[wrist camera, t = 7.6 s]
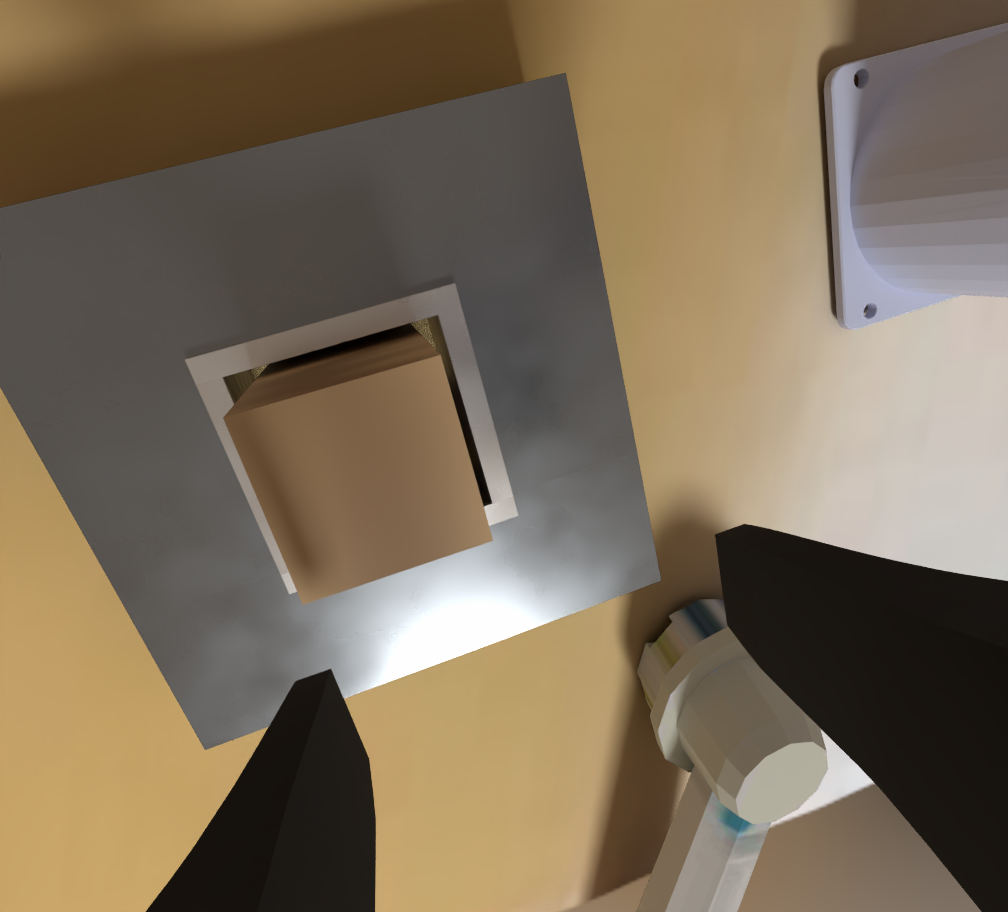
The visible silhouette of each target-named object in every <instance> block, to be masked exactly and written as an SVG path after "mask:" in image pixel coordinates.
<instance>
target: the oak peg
mask: <svg viewBox="0 0 1008 912" xmlns="http://www.w3.org/2000/svg"><path fill="white" fill-rule="evenodd" d="M223 419H224V421H225V424H226V426H227V429H228V431H229V433H230V436H231V438H232V440H233V443H234V445H235V447H236V450H237V452H238V454H239V457H240V459H241V461H242V464H243V466H244V468H245V471H246V473H247V475H248V478H249V480H250V482H251V485H252V487H253V489H254V492H255V494H256V496H257V499H258V501H259V503H260V506H261V508H262V511H263V513H264V515H265V518H266V520H267V522H268V525H269V527H270V529H271V532H272V534H273V536H274V539H275V541H276V543H277V546H278V548H279V550H280V553H281V555H282V557H283V560H284V562H285V564H286V567H287V569H288V571H289V574H290V576H291V578H292V581H293V583H294V585H295V588H296V590H297V592H298V595H299V597H300V600H301V602H302V604H303V605H304V604H307V603H310V602H313V601H316V600H319V599H322V598H325V597H328V596H331V595H334V594H337V593H340V592H343V591H346V590H349V589H352V588H355V587H357V586H360V585H363V584H366V583H369V582H372V581H375V580H378V579H381V578H384V577H387V576H390V575H393V574H396V573H399V572H402V571H405V570H408V569H411V568H414V567H417V566H420V565H423V564H426V563H429V562H432V561H435V560H437V559H440V558H443V557H446V556H449V555H452V554H455V553H458V552H461V551H464V550H467V549H470V548H473V547H476V546H479V545H482V544H485V543H488V542H491V541H493V538H492V534H491V531H490V527H489V524H488V520H487V517H486V513H485V510H484V506H483V503H482V499H481V496H480V492H479V489H478V485H477V481H476V478H475V474H474V471H473V467H472V464H471V460H470V457H469V453H468V450H467V446H466V443H465V439H464V436H463V432H462V429H461V425H460V422H459V418H458V414H457V411H456V407H455V404H454V400H453V397H452V393H451V390H450V386H449V383H448V379H447V376H446V372H445V369H444V365H443V362H442V358H441V355H440V354H439V353H438V352H437V351H436V350H435V349H434V348H433V347H432V346H431V345H430V343H429V342H428V341H427V340H426V339H425V338H424V337H423V336H422V335H421V334H420V333H419V332H418V331H417V330H416V329H415V328H414V327H413V326H412V325H411V324H410V323H408V324H405V325H401V326H398V327H395V328H391V329H388V330H384V331H381V332H377V333H374V334H370V335H367V336H363V337H360V338H356V339H353V340H350V341H346V342H343V343H339V344H336V345H332V346H329V347H325V348H322V349H318V350H315V351H312V352H308V353H305V354H301V355H298V356H294V357H291V358H287V359H284V360H280V361H277V362H273V363H270V364H269V365H268V366H267V367H266V368H265V369H264V370H263V372H262V373H261V374H260V375H259V376H258V377H257V379H256V380H255V381H254V382H253V383H252V384H251V386H250V387H249V388H248V389H247V390H246V391H245V393H244V394H243V395H242V396H241V397H240V398H239V400H238V401H237V402H236V403H235V404H234V405H233V407H232V408H231V409H230V410H229V411H228V412H227V414H226V415H225V416H224V417H223Z"/></svg>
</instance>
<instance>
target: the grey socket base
mask: <svg viewBox="0 0 1008 912" xmlns="http://www.w3.org/2000/svg"><path fill="white" fill-rule="evenodd" d="M426 318H427V319H428V322H429V325H430V329H431V332H432V336H433V339H434V342H435V346H436V349H437V352H438V353H439V354H440V355H441V358H442V362H443V365H444V369H445V372H446V376H447V379H448V383H449V386H450V390H451V393H452V397H453V400H454V404H455V407H456V411H457V414H458V418H459V422H460V425H461V429H462V432H463V436H464V439H465V443H466V446H467V450H468V453H469V457H470V460H471V464H472V467H473V471H474V474H475V478H476V481H477V485H478V489H479V492H480V496H481V499H482V503H483V506H484V510H485V513H486V517H487V520H488V524H489V527H490V531H491V534H492V538H493V541H491V542H488V543H485V544H482V545H479V546H476V547H473V548H470V549H467V550H464V551H461V552H458V553H455V554H452V555H449V556H446V557H443V558H440V559H437V560H435V561H432V562H429V563H426V564H423V565H420V566H417V567H414V568H411V569H408V570H405V571H402V572H399V573H396V574H393V575H390V576H387V577H384V578H381V579H378V580H375V581H372V582H369V583H366V584H363V585H360V586H357V587H355V588H352V589H349V590H346V591H343V592H340V593H337V594H334V595H331V596H328V597H325V598H322V599H319V600H316V601H313V602H310V603H307V604H304V605H303V604H302V602H301V600H300V597H299V595H298V592H297V590H296V588H295V585H294V583H293V581H292V578H291V576H290V574H289V571H288V569H287V567H286V564H285V562H284V560H283V557H282V555H281V553H280V550H279V548H278V546H277V543H276V541H275V539H274V536H273V534H272V532H271V529H270V527H269V525H268V522H267V520H266V518H265V515H264V513H263V511H262V508H261V506H260V503H259V501H258V499H257V496H256V494H255V492H254V489H253V487H252V485H251V482H250V480H249V478H248V475H247V473H246V471H245V468H244V466H243V464H242V461H241V459H240V457H239V454H238V452H237V450H236V447H235V445H234V443H233V440H232V438H231V436H230V433H229V431H228V429H227V426H226V424H225V421H224V419H223V417H224V416H225V415H226V414H227V412H228V411H229V410H230V409H231V408H232V407H233V405H234V404H235V403H236V402H237V401H238V400H239V398H240V397H241V396H242V395H243V394H244V393H245V391H246V390H247V389H248V388H249V387H250V386H251V384H252V383H253V382H254V381H255V380H254V378H253V375H252V373H251V371H250V369H253V368H256V367H260V366H263V365H267V364H270V363H273V362H277V361H280V360H284V359H287V358H291V357H294V356H298V355H301V354H305V353H308V352H312V351H315V350H318V349H322V348H325V347H329V346H332V345H336V344H339V343H343V342H346V341H350V340H353V339H356V338H360V337H363V336H367V335H370V334H374V333H377V332H381V331H384V330H388V329H391V328H395V327H398V326H401V325H405V324H408V323H412V322H415V321H419V320H422V319H426ZM0 387H1V389H2V391H3V393H4V395H5V396H6V398H7V400H8V402H9V403H10V405H11V407H12V409H13V410H14V412H15V414H16V416H17V418H18V419H19V421H20V423H21V425H22V426H23V428H24V430H25V432H26V434H27V435H28V437H29V439H30V441H31V442H32V444H33V446H34V448H35V449H36V451H37V453H38V455H39V457H40V458H41V460H42V462H43V464H44V465H45V467H46V469H47V471H48V472H49V474H50V476H51V478H52V480H53V481H54V483H55V485H56V487H57V488H58V490H59V492H60V494H61V496H62V497H63V499H64V501H65V503H66V504H67V506H68V508H69V510H70V511H71V513H72V515H73V517H74V519H75V520H76V522H77V524H78V526H79V527H80V529H81V531H82V533H83V535H84V536H85V538H86V540H87V542H88V543H89V545H90V547H91V549H92V550H93V552H94V554H95V556H96V558H97V559H98V561H99V563H100V565H101V566H102V568H103V570H104V572H105V574H106V575H107V577H108V579H109V581H110V582H111V584H112V586H113V588H114V589H115V591H116V593H117V595H118V597H119V598H120V600H121V602H122V604H123V605H124V607H125V609H126V611H127V613H128V614H129V616H130V618H131V620H132V621H133V623H134V625H135V627H136V628H137V630H138V632H139V634H140V636H141V637H142V639H143V641H144V643H145V644H146V646H147V648H148V650H149V651H150V653H151V655H152V657H153V659H154V660H155V662H156V664H157V666H158V667H159V669H160V671H161V673H162V675H163V676H164V678H165V680H166V682H167V683H168V685H169V687H170V689H171V690H172V692H173V694H174V696H175V698H176V699H177V701H178V703H179V705H180V706H181V708H182V710H183V712H184V714H185V715H186V717H187V719H188V721H189V722H190V724H191V726H192V728H193V729H194V731H195V733H196V735H197V737H198V738H199V740H200V742H201V744H202V745H203V747H204V749H205V750H207V749H209V748H212V747H215V746H218V745H220V744H223V743H226V742H228V741H231V740H234V739H236V738H239V737H242V736H244V735H247V734H250V733H253V732H255V731H258V730H261V729H263V728H266V727H269V726H270V724H271V722H272V720H273V718H274V717H275V715H276V713H277V711H278V710H279V708H280V706H281V705H282V703H283V701H284V699H285V698H286V696H287V694H288V692H289V691H290V689H291V687H292V686H293V684H294V682H295V681H297V680H300V679H303V678H305V677H308V676H311V675H314V674H317V673H320V672H323V671H326V670H328V669H331V670H332V672H333V674H334V677H335V679H336V681H337V684H338V686H339V689H340V691H341V693H342V696H343V698H347V697H349V696H352V695H355V694H357V693H360V692H363V691H366V690H368V689H371V688H374V687H376V686H379V685H382V684H384V683H387V682H390V681H392V680H395V679H398V678H400V677H403V676H406V675H409V674H411V673H414V672H417V671H419V670H422V669H425V668H427V667H430V666H433V665H435V664H438V663H441V662H444V661H446V660H449V659H452V658H454V657H457V656H460V655H462V654H465V653H468V652H470V651H473V650H476V649H479V648H481V647H484V646H487V645H489V644H492V643H495V642H497V641H500V640H503V639H505V638H508V637H511V636H514V635H516V634H519V633H522V632H524V631H527V630H530V629H532V628H535V627H538V626H540V625H543V624H546V623H548V622H551V621H554V620H557V619H559V618H562V617H565V616H567V615H570V614H573V613H575V612H578V611H581V610H583V609H586V608H589V607H592V606H594V605H597V604H600V603H602V602H605V601H608V600H610V599H613V598H616V597H618V596H621V595H624V594H627V593H629V592H632V591H635V590H637V589H640V588H643V587H645V586H648V585H651V584H653V583H656V582H659V581H661V577H660V572H659V566H658V561H657V556H656V551H655V545H654V540H653V535H652V529H651V524H650V519H649V513H648V508H647V503H646V497H645V492H644V487H643V481H642V476H641V471H640V465H639V460H638V455H637V449H636V444H635V439H634V433H633V428H632V423H631V417H630V412H629V407H628V401H627V396H626V391H625V385H624V380H623V375H622V369H621V364H620V359H619V353H618V348H617V343H616V338H615V332H614V327H613V322H612V316H611V311H610V306H609V300H608V295H607V290H606V284H605V279H604V274H603V268H602V263H601V258H600V252H599V247H598V242H597V236H596V231H595V226H594V220H593V215H592V210H591V204H590V199H589V194H588V188H587V183H586V178H585V172H584V167H583V162H582V156H581V151H580V146H579V140H578V135H577V130H576V125H575V119H574V114H573V109H572V103H571V98H570V93H569V87H568V82H567V77H566V73H563V74H558V75H554V76H550V77H546V78H542V79H537V80H533V81H529V82H525V83H521V84H516V85H512V86H508V87H504V88H500V89H496V90H491V91H487V92H483V93H479V94H475V95H470V96H466V97H462V98H458V99H454V100H450V101H445V102H441V103H437V104H433V105H429V106H424V107H420V108H416V109H412V110H408V111H404V112H399V113H395V114H391V115H387V116H383V117H378V118H374V119H370V120H366V121H362V122H358V123H353V124H349V125H345V126H341V127H337V128H332V129H328V130H324V131H320V132H316V133H312V134H307V135H303V136H299V137H295V138H291V139H286V140H282V141H278V142H274V143H270V144H266V145H261V146H257V147H253V148H249V149H245V150H240V151H236V152H232V153H228V154H224V155H220V156H215V157H211V158H207V159H203V160H199V161H194V162H190V163H186V164H182V165H178V166H174V167H169V168H165V169H161V170H157V171H153V172H148V173H144V174H140V175H136V176H132V177H127V178H123V179H119V180H115V181H111V182H107V183H102V184H98V185H94V186H90V187H86V188H81V189H77V190H73V191H69V192H65V193H61V194H56V195H52V196H48V197H44V198H40V199H35V200H31V201H27V202H23V203H19V204H15V205H10V206H6V207H2V208H0Z"/></svg>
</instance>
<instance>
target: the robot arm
mask: <svg viewBox="0 0 1008 912" xmlns="http://www.w3.org/2000/svg"><path fill="white" fill-rule="evenodd" d="M855 74H857V75H858V79H859V83H858V87H856V86H855V84H854V75H855ZM824 100H825V118H826V135H827V152H828V170H829V187H830V205H831V222H832V239H833V257H834V274H835V292H836V309H837V320H838V324H839V325H840V326H841V327H842V328H845V329H850V330H855V329H859V328H863V327H866V326H869V325H872V324H875V323H878V322H881V321H884V320H887V319H890V318H893V317H896V316H900V315H903V314H906V313H909V312H912V311H915V310H918V309H921V308H924V307H927V306H930V305H933V304H936V303H940V302H943V301H946V300H949V299H952V298H955V297H958V296H961V295H969V296H990V297H1008V22H1007V23H1004V24H1000V25H996V26H992V27H988V28H984V29H980V30H976V31H972V32H968V33H964V34H960V35H956V36H952V37H948V38H945V39H941V40H937V41H933V42H929V43H925V44H921V45H917V46H913V47H909V48H905V49H901V50H897V51H893V52H889V53H886V54H882V55H878V56H874V57H870V58H866V59H862V60H858V61H854V62H850V63H846V64H843V65H841V66H838V67H836V68H834V69H832V70H831V71H830V73H829V74H828V75H827V77H826V80H825V83H824ZM866 305H867V307H868V310H867V313H866V315H865V316H864V308H865V307H866ZM715 537H716V545H717V553H718V560H719V568H720V575H721V583H722V591H723V598H724V606H725V614H726V621H727V626H728V627H729V628H730V630H731V631H732V632H733V634H734V635H735V636H736V638H737V639H738V640H739V642H740V643H741V644H742V646H743V647H744V648H745V650H746V651H747V652H748V653H749V655H750V656H751V657H752V658H753V660H754V661H755V662H756V663H757V665H758V666H759V667H760V668H761V669H762V670H763V671H764V672H765V674H766V675H767V676H768V677H769V678H770V679H771V680H772V681H773V682H774V683H775V684H776V685H777V686H778V687H779V688H780V689H781V690H782V691H783V692H784V693H785V694H786V695H787V696H788V697H789V698H790V699H791V700H792V701H793V702H794V703H795V704H796V705H797V706H798V707H799V708H800V709H801V710H802V711H803V712H804V713H805V714H806V715H807V716H808V717H809V718H811V719H812V720H813V721H814V722H815V723H816V724H817V725H818V726H819V727H820V728H821V729H822V730H823V731H824V732H825V733H826V734H827V735H828V736H829V737H830V738H831V739H832V740H833V741H834V742H835V743H836V744H837V745H838V746H839V747H840V748H841V749H842V750H843V751H844V752H845V753H846V754H847V755H848V756H849V757H850V758H851V759H852V760H853V761H854V762H855V763H856V764H857V765H858V766H859V767H860V768H861V769H862V770H863V771H864V772H865V773H866V774H867V775H868V776H869V777H870V779H871V780H872V781H873V782H874V783H875V784H876V785H877V786H878V787H879V788H880V789H881V790H882V791H883V793H884V794H885V795H886V796H887V797H888V798H889V800H890V801H891V802H892V803H893V804H894V806H896V808H897V809H898V810H899V811H900V813H901V814H902V815H903V816H904V817H905V819H906V820H907V821H908V822H909V823H910V824H911V826H912V827H913V828H914V829H915V830H916V832H917V833H918V834H919V835H920V836H921V837H922V839H923V840H924V841H925V842H926V843H927V845H928V846H929V847H930V848H931V849H932V851H933V852H934V853H935V854H936V856H937V857H938V858H939V859H940V861H941V862H942V863H943V864H944V866H945V867H946V868H947V869H948V871H949V872H950V873H951V874H952V875H953V877H954V878H955V879H956V880H957V882H958V883H959V884H960V885H961V886H962V888H963V889H964V890H965V892H966V893H967V894H968V895H969V897H970V898H971V899H972V900H973V901H974V903H975V904H976V905H977V906H978V908H979V909H980V910H981V911H982V912H1008V581H1004V580H997V579H991V578H984V577H977V576H971V575H964V574H959V573H953V572H947V571H942V570H937V569H932V568H927V567H922V566H918V565H913V564H908V563H903V562H899V561H894V560H890V559H885V558H881V557H877V556H873V555H868V554H864V553H860V552H856V551H852V550H848V549H844V548H841V547H837V546H833V545H829V544H825V543H821V542H818V541H814V540H810V539H806V538H802V537H799V536H795V535H791V534H787V533H783V532H779V531H775V530H771V529H767V528H763V527H758V526H753V525H747V524H743V525H741V526H738V527H735V528H732V529H729V530H726V531H723V532H721V533H718V534H715ZM375 861H376V817H375V807H374V798H373V788H372V780H371V771H370V763H369V758H368V755H367V753H366V750H365V748H364V746H363V743H362V741H361V739H360V736H359V734H358V731H357V729H356V727H355V724H354V722H353V720H352V717H351V715H350V712H349V710H348V708H347V705H346V703H345V701H344V698H343V696H342V693H341V691H340V689H339V686H338V684H337V681H336V679H335V677H334V674H333V672H332V670H331V669H328V670H326V671H323V672H320V673H317V674H314V675H311V676H308V677H305V678H303V679H300V680H297V681H295V682H294V684H293V686H292V687H291V689H290V691H289V692H288V694H287V696H286V698H285V699H284V701H283V703H282V705H281V706H280V708H279V710H278V711H277V713H276V715H275V717H274V718H273V720H272V722H271V724H270V726H269V727H268V729H267V731H266V732H265V734H264V736H263V738H262V739H261V741H260V743H259V745H258V746H257V748H256V750H255V752H254V753H253V755H252V757H251V758H250V760H249V762H248V763H247V765H246V767H245V768H244V770H243V772H242V773H241V775H240V777H239V778H238V780H237V782H236V783H235V785H234V787H233V788H232V790H231V791H230V793H229V794H228V796H227V797H226V799H225V800H224V802H223V803H222V805H221V806H220V808H219V809H218V811H217V812H216V814H215V816H214V817H213V819H212V820H211V822H210V823H209V825H208V826H207V828H206V829H205V831H204V832H203V834H202V835H201V837H200V838H199V840H198V841H197V843H196V844H195V846H194V847H193V849H192V850H191V852H190V853H189V854H188V856H187V857H186V859H185V860H184V861H183V863H182V864H181V866H180V867H179V868H178V870H177V871H176V872H175V874H174V875H173V877H172V878H171V879H170V881H169V882H168V883H167V885H166V886H165V887H164V888H163V890H162V891H161V892H160V894H159V895H158V896H157V898H156V899H155V900H154V901H153V903H152V904H151V905H150V907H149V908H148V909H147V911H146V912H375Z"/></svg>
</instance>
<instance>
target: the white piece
mask: <svg viewBox="0 0 1008 912" xmlns="http://www.w3.org/2000/svg"><path fill="white" fill-rule="evenodd" d="M669 617H670V619H671V621H672V623H671V624H670V625H669V626H668V628H667V629H666V630H665V631H664V632H663V634H662V635H661V636H660V637H659V638H658V640H657V641H656V642H655V643H646V644H645V647H644V650H643V654H642V657H641V660H640V664H639V667H638V670H637V674H638V675H639V677H640V679H641V683H642V686H643V690H644V694H645V697H646V699H645V700H646V702H647V703H648V705H649V707H650V709H651V714H650V719H651V722H652V726H653V729H654V733H655V737H656V740H657V744H658V746H659V748H660V750H661V751H662V753H663V755H664V757H665V759H666V760H668V761H670V762H672V763H673V764H675V765H677V766H679V767H681V768H682V769H684V770H686V771H688V772H691V775H690V778H689V780H688V783H687V785H686V788H685V790H684V793H683V795H682V798H681V800H680V803H679V805H678V808H677V810H676V813H675V815H674V818H673V821H672V823H671V826H670V828H669V831H668V833H667V836H666V838H665V841H664V843H663V846H662V848H661V851H660V853H659V856H658V858H657V861H656V864H655V866H654V869H653V871H652V874H651V876H650V879H649V881H648V884H647V886H646V889H645V891H644V894H643V897H642V899H641V901H640V904H639V907H638V909H637V912H737V911H738V908H739V905H740V903H741V900H742V897H743V895H744V892H745V890H746V887H747V884H748V882H749V879H750V876H751V874H752V871H753V869H754V866H755V863H756V861H757V858H758V855H759V853H760V850H761V847H762V845H763V842H764V839H765V837H766V834H767V832H768V829H769V826H770V824H771V822H775V821H776V820H778V819H780V818H782V817H784V816H786V815H788V814H790V813H791V812H793V811H795V810H797V809H798V808H799V807H800V806H801V805H802V804H804V803H805V802H806V801H807V800H808V799H809V798H810V797H811V796H812V795H813V794H814V793H815V792H816V791H817V789H818V787H819V785H820V783H821V781H822V779H823V777H824V775H825V774H826V772H827V770H828V766H827V752H826V748H825V744H824V741H823V737H822V734H821V730H820V727H819V726H818V725H817V724H816V723H815V722H814V721H813V720H812V719H811V718H809V717H808V716H807V715H806V714H805V713H804V712H803V711H802V710H801V709H800V708H799V707H798V706H797V705H796V704H795V703H794V702H793V701H792V700H791V699H790V698H789V697H788V696H787V695H786V694H785V693H784V692H783V691H782V690H781V689H780V688H779V687H778V686H777V685H776V684H775V683H774V682H773V681H772V680H771V679H770V678H769V677H768V676H767V675H766V674H765V672H764V671H763V670H762V669H761V668H760V667H759V666H758V665H757V663H756V662H755V661H754V660H753V658H752V657H751V656H750V655H749V653H748V652H747V651H746V650H745V648H744V647H743V646H742V644H741V643H740V642H739V640H738V639H737V638H736V636H735V635H734V634H733V632H732V631H731V630H730V628H729V627H728V626H727V621H726V614H725V606H724V599H699V600H697V601H695V602H693V603H691V604H689V605H687V606H686V607H684V608H682V609H680V610H678V611H676V612H675V613H673V614H671V615H669Z"/></svg>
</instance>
